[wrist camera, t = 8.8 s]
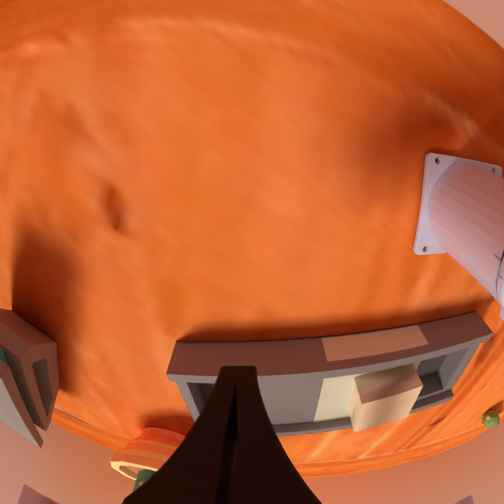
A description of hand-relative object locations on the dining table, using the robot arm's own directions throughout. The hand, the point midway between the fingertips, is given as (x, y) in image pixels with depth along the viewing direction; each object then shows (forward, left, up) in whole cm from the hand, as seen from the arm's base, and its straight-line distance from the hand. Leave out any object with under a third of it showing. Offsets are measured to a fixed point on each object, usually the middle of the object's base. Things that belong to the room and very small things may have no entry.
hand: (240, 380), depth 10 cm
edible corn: (-63, +53, -11) cm, 82 cm away
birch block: (-12, +14, -7) cm, 20 cm away
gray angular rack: (+30, +13, -11) cm, 34 cm away
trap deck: (-9, +14, -10) cm, 20 cm away
